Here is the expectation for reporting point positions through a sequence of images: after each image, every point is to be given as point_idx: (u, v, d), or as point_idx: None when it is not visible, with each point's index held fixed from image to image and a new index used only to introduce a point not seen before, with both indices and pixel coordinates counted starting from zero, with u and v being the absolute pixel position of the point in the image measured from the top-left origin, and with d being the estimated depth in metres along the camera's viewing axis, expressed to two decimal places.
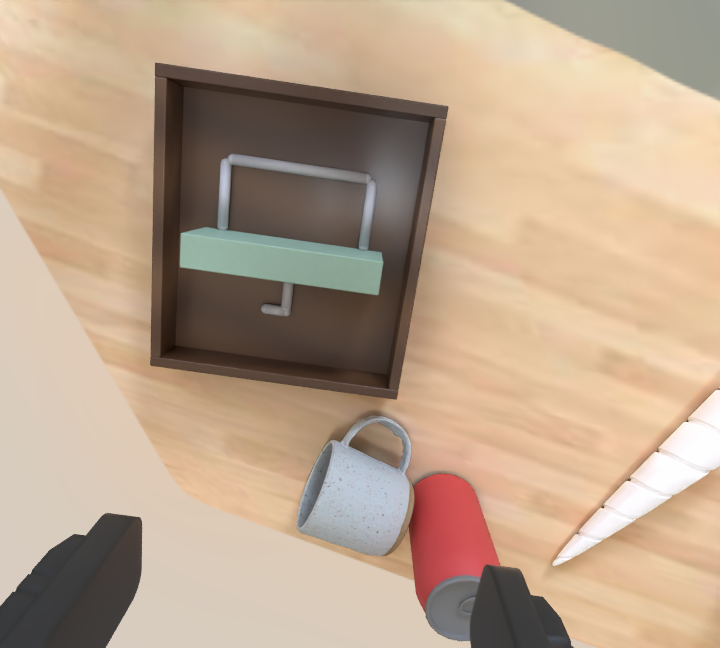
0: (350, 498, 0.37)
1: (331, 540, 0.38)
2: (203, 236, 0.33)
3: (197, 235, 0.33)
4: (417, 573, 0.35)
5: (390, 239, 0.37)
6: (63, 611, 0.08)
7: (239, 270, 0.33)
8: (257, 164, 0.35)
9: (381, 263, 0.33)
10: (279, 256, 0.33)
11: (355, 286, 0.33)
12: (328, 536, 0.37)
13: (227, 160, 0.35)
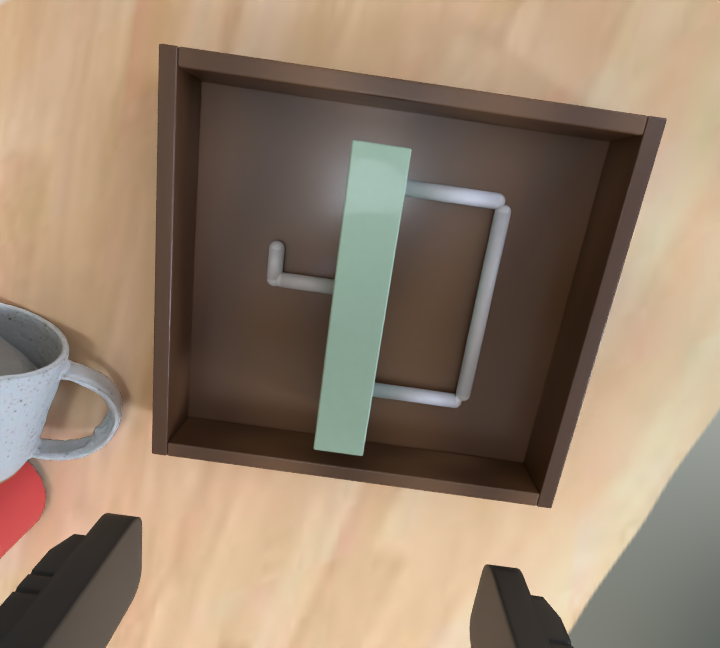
0: None
1: None
2: (404, 188, 0.19)
3: (406, 177, 0.19)
4: None
5: (381, 420, 0.28)
6: (63, 611, 0.08)
7: (347, 246, 0.20)
8: (493, 250, 0.24)
9: (360, 454, 0.23)
10: (370, 311, 0.21)
11: (325, 419, 0.22)
12: None
13: (502, 205, 0.23)
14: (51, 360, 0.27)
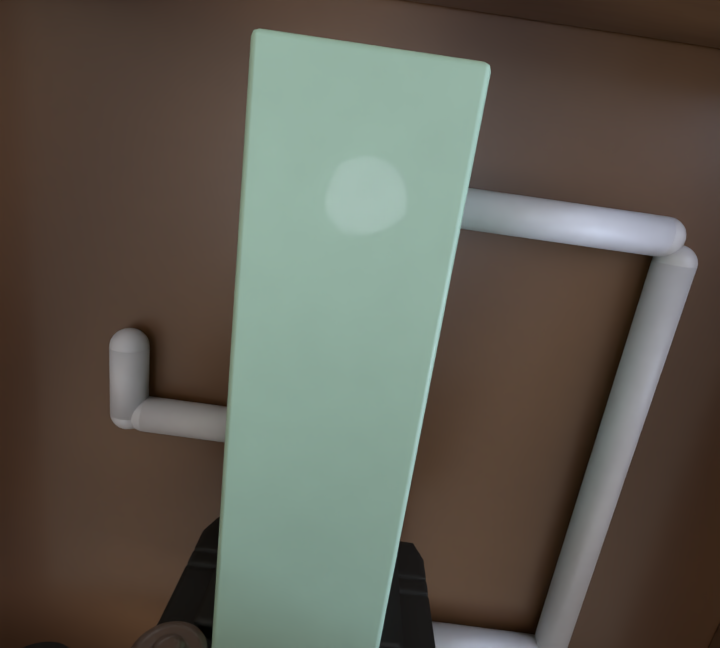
0: None
1: None
2: (457, 219, 0.05)
3: (465, 180, 0.05)
4: None
5: None
6: None
7: (256, 418, 0.06)
8: (648, 355, 0.10)
9: None
10: (338, 604, 0.07)
11: None
12: None
13: (680, 247, 0.09)
14: None
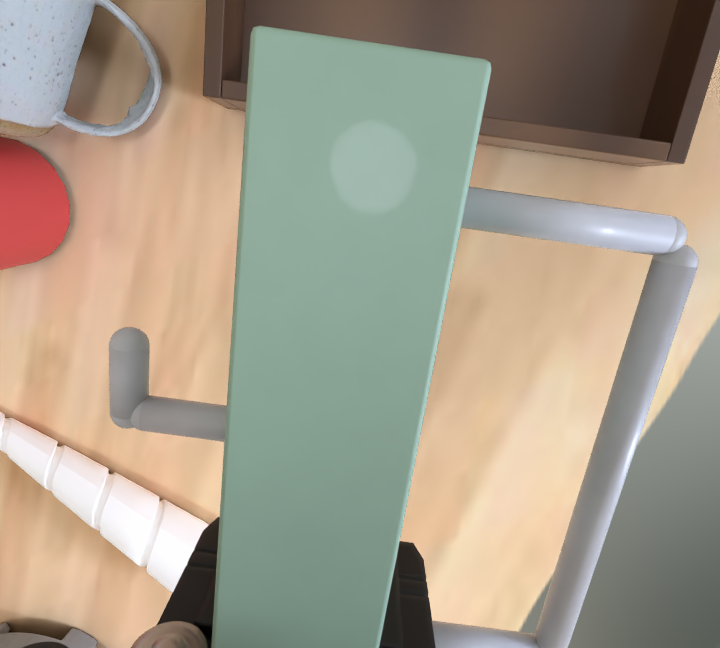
0: None
1: None
2: None
3: None
4: None
5: None
6: None
7: (256, 417, 0.06)
8: (648, 354, 0.10)
9: None
10: (339, 603, 0.07)
11: None
12: None
13: (681, 246, 0.09)
14: None
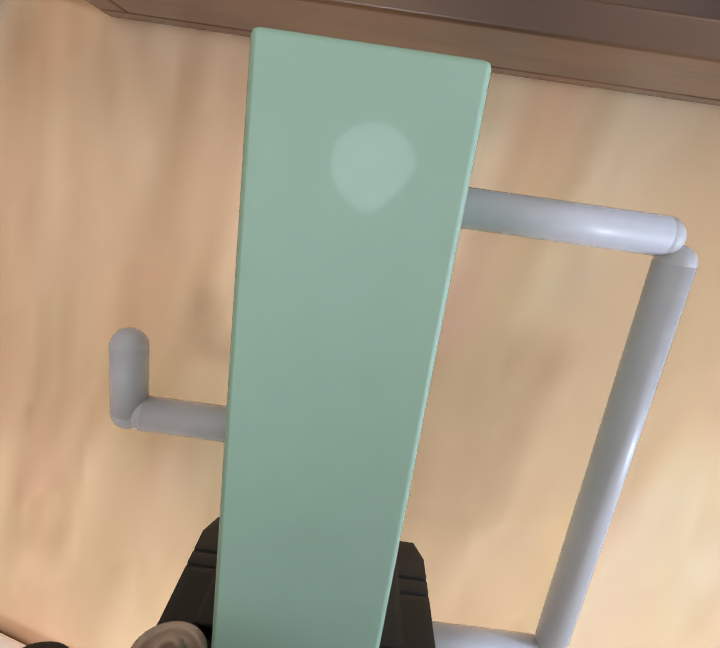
0: None
1: None
2: (457, 218, 0.05)
3: (466, 179, 0.05)
4: None
5: None
6: None
7: (256, 418, 0.06)
8: (648, 355, 0.10)
9: None
10: (338, 603, 0.07)
11: None
12: None
13: (681, 247, 0.09)
14: None
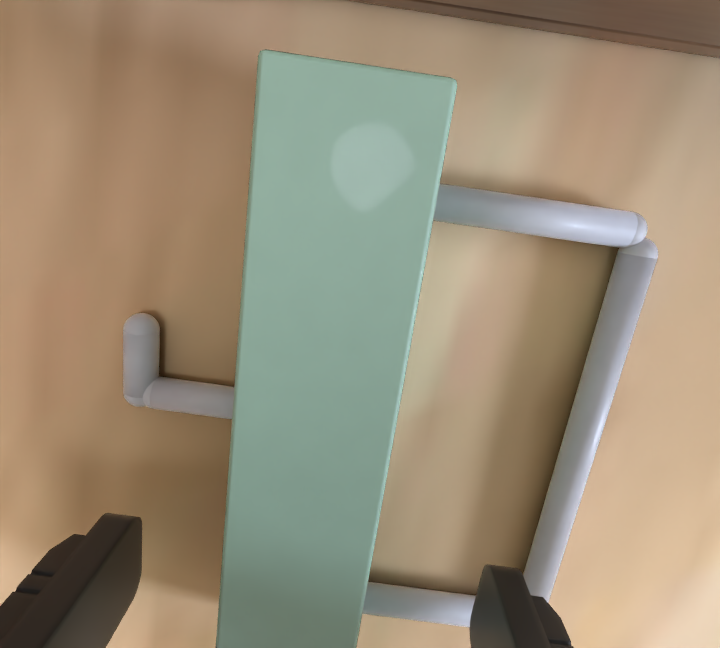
0: None
1: None
2: None
3: (437, 176, 0.06)
4: None
5: None
6: (63, 611, 0.08)
7: (261, 380, 0.07)
8: (614, 338, 0.11)
9: None
10: (332, 546, 0.07)
11: None
12: None
13: (642, 239, 0.10)
14: None
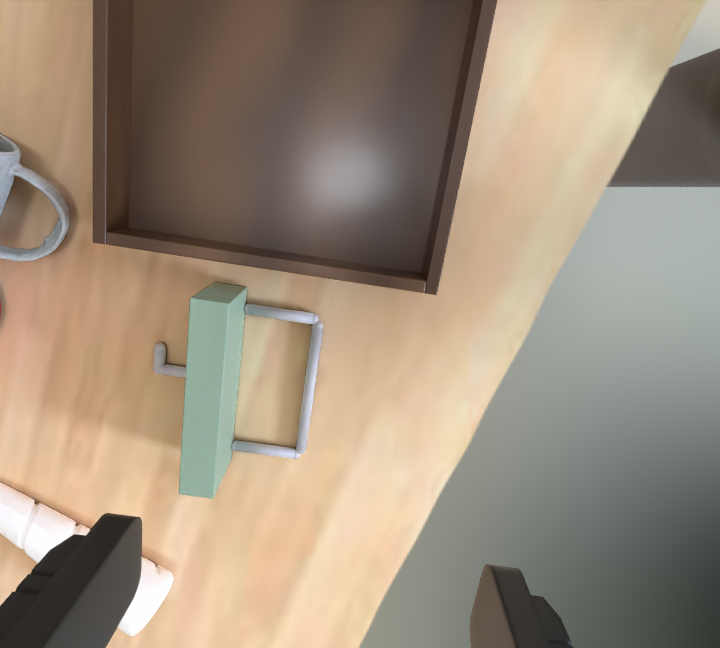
0: None
1: None
2: (227, 326, 0.29)
3: (228, 320, 0.29)
4: None
5: (297, 231, 0.32)
6: (63, 611, 0.08)
7: (192, 362, 0.30)
8: (311, 352, 0.34)
9: (211, 497, 0.33)
10: (210, 403, 0.31)
11: (185, 474, 0.32)
12: None
13: (316, 322, 0.34)
14: None
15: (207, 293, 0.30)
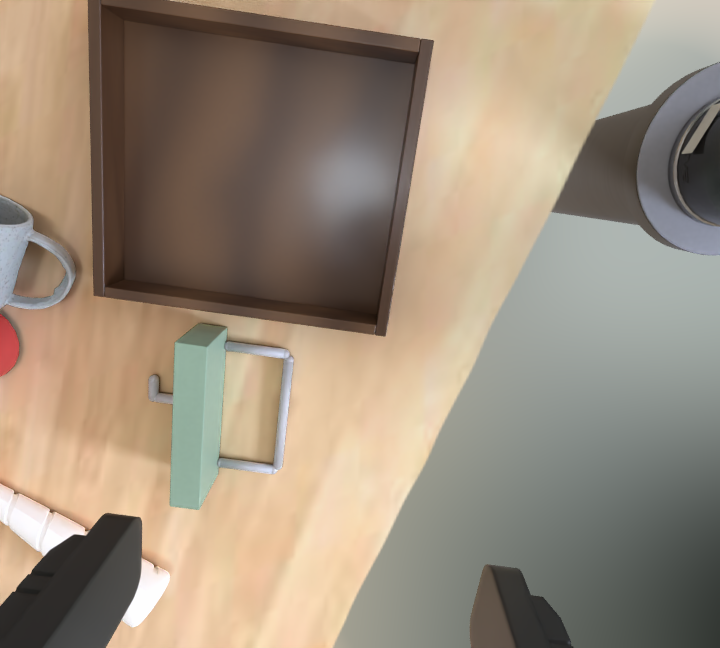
0: None
1: None
2: (206, 365, 0.35)
3: (206, 360, 0.35)
4: None
5: (268, 280, 0.37)
6: (63, 611, 0.08)
7: (177, 396, 0.35)
8: (283, 382, 0.39)
9: (197, 508, 0.38)
10: (194, 429, 0.36)
11: (175, 489, 0.38)
12: None
13: (286, 357, 0.39)
14: None
15: (190, 336, 0.36)
